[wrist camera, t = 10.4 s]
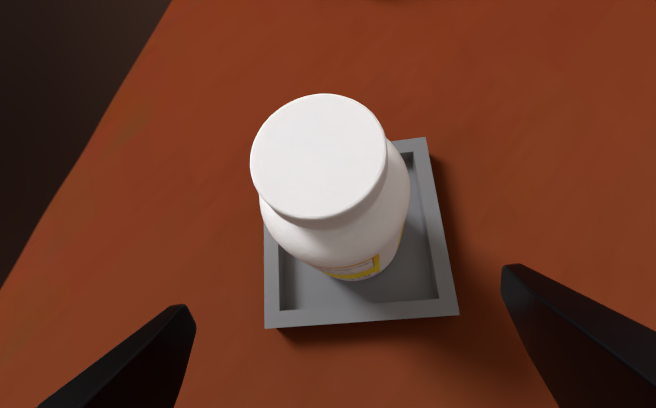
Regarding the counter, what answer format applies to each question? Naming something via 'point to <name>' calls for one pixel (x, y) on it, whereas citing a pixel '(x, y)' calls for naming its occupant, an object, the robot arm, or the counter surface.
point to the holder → (385, 287)
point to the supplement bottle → (331, 185)
